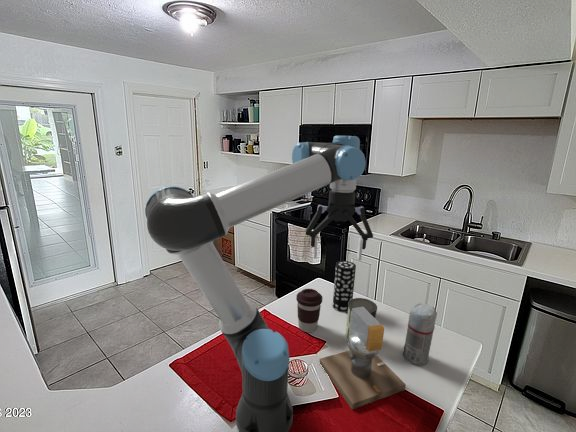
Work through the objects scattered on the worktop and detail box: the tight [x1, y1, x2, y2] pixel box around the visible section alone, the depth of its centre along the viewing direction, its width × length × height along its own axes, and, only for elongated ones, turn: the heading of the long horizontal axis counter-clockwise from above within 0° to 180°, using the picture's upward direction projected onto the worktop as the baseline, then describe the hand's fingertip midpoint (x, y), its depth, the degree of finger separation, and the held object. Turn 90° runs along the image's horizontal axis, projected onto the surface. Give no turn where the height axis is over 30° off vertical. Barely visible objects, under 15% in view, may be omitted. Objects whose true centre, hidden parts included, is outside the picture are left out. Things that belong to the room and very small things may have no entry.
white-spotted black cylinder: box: [332, 260, 357, 313], centre depth 137 cm, size 8×8×20 cm
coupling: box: [348, 307, 385, 359], centre depth 96 cm, size 12×9×11 cm
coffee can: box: [344, 297, 378, 343], centre depth 117 cm, size 10×10×14 cm
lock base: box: [318, 349, 407, 410], centre depth 99 cm, size 19×19×10 cm
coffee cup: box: [295, 288, 323, 333], centre depth 122 cm, size 10×10×15 cm
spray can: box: [402, 302, 438, 367], centre depth 106 cm, size 8×8×20 cm
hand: (336, 257), depth 98 cm, fingers open, 13 cm apart
